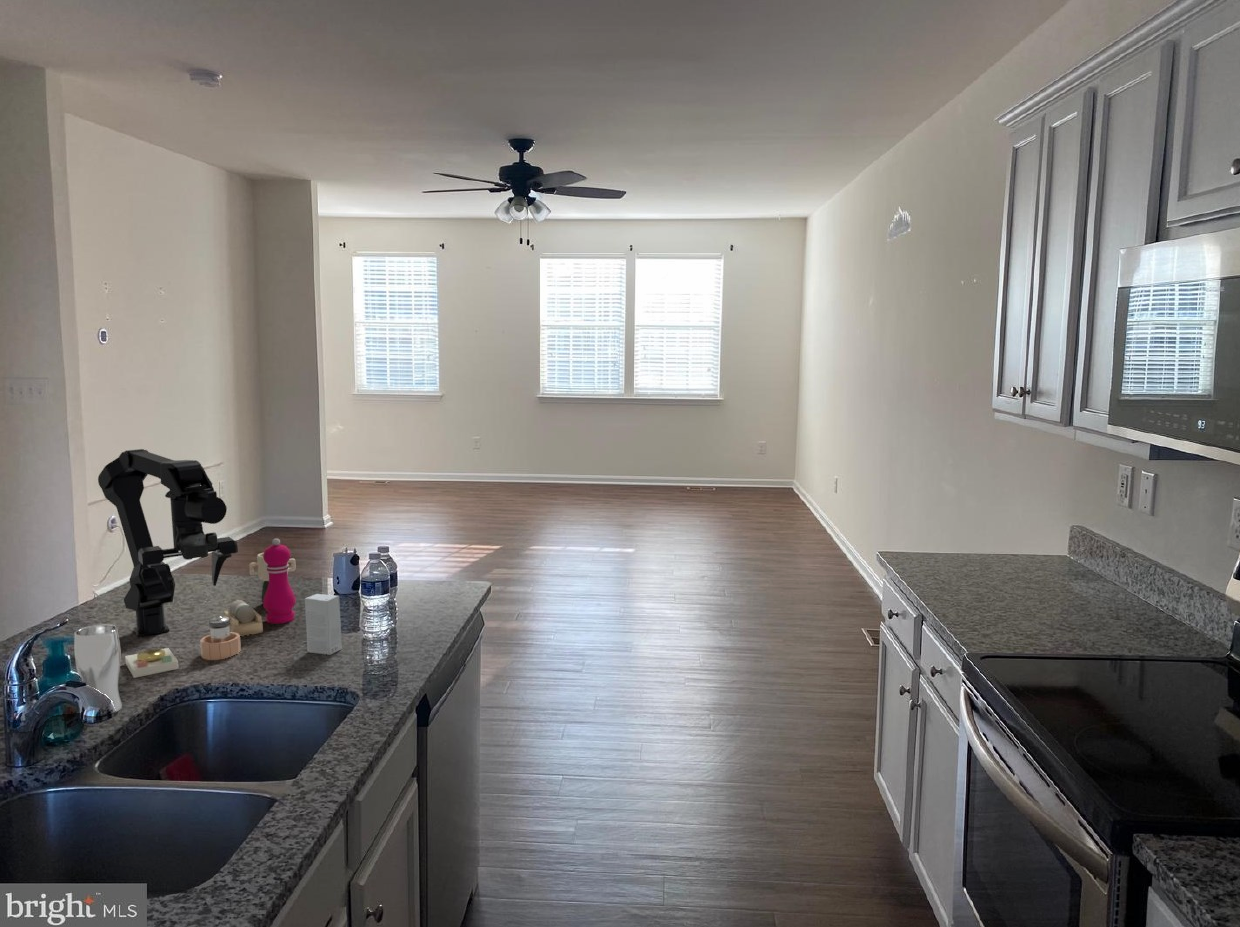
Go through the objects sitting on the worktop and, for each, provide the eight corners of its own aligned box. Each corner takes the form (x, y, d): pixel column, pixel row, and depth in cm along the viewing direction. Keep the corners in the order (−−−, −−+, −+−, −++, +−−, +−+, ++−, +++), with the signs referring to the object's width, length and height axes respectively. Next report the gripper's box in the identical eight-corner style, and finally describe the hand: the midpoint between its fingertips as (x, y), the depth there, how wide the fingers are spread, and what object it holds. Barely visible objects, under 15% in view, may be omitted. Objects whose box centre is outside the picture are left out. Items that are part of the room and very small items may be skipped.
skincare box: (342, 649, 184) (340, 595, 182) (330, 655, 180) (327, 601, 178) (319, 646, 186) (316, 593, 184) (306, 652, 182) (303, 598, 180)
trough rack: (224, 626, 199) (222, 600, 198) (250, 621, 202) (249, 596, 202) (235, 637, 191) (233, 610, 190) (262, 632, 195) (261, 606, 194)
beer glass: (92, 721, 147) (85, 638, 145) (72, 713, 151) (64, 631, 149) (132, 707, 153) (126, 627, 151) (112, 699, 157) (106, 621, 155)
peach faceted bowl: (198, 652, 182) (197, 636, 181) (235, 645, 186) (234, 629, 186) (206, 662, 176) (205, 646, 175) (244, 654, 180) (243, 638, 180)
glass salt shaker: (209, 650, 181) (207, 616, 180) (228, 646, 183) (226, 613, 182) (213, 655, 178) (211, 621, 177) (233, 651, 180) (231, 617, 179)
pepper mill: (285, 625, 200) (280, 542, 197) (257, 623, 201) (253, 541, 198) (302, 616, 207) (298, 536, 204) (276, 614, 208) (271, 534, 205)
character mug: (296, 597, 223) (293, 548, 221) (298, 604, 217) (296, 554, 215) (251, 602, 218) (248, 553, 216) (252, 609, 212) (249, 559, 210)
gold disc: (135, 656, 174) (135, 652, 174) (162, 651, 177) (162, 647, 177) (139, 663, 170) (139, 659, 170) (167, 658, 173) (167, 654, 173)
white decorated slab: (125, 663, 175) (124, 652, 175) (168, 655, 180) (167, 644, 180) (133, 677, 167) (132, 666, 167) (178, 668, 172) (177, 657, 172)
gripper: (144, 530, 171) (150, 605, 173) (242, 519, 183) (246, 589, 185) (135, 522, 180) (140, 593, 182) (229, 512, 191) (233, 579, 193)
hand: (191, 589), depth 185 cm, fingers open, 9 cm apart
